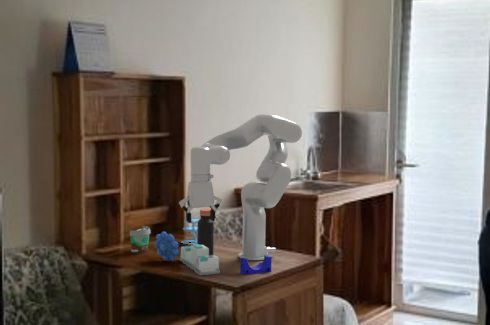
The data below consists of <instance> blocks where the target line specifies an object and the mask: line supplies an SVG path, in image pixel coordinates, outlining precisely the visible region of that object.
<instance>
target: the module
mask: <svg viewBox="0 0 490 325" xmlns="http://www.w3.org/2000/svg"><path fill="white" fill-rule="evenodd" d="M197 256H209V248H207V247H206V246H204V245H199V244H194V245H193V246H191V264H193V265H194V266H196V257H197Z"/></svg>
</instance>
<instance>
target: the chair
mask: <svg viewBox="0 0 490 325" xmlns="http://www.w3.org/2000/svg"><path fill="white" fill-rule="evenodd" d="M199 220H200V218H199V219H198V218H192V217H191V223H190V224H192V226H188V224H189V223H188V222H187V221H186V219H184V220H183V222H184V225H185V226H184V227H183V228H182V230H184V231H189V232H191V234H192V236H193V238H194V239H192V240H191V239H190V240H189V239H188V240H181V241H180V242H181V243H183V244H182V245H186V244H188V245H187V246H190V245H194V244H197V235H196V233H198V226H196V225H195V224H197V223H198V221H199ZM187 223H188V224H187ZM195 232H196V233H195ZM188 242H191V243H188Z"/></svg>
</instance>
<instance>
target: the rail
mask: <svg viewBox="0 0 490 325" xmlns="http://www.w3.org/2000/svg"><path fill="white" fill-rule="evenodd" d="M179 261H180V262H181V261H182V262H183V264H184V265H185V264H186V265H185V266H186V267H188V268H189V267H190V270H192V271H193V270H194V272H195V273H196V274H198V275H199V276H204V275H205V276H206V275H216V274H220V266H219V265H220V257H219V256H217V255H215V254H213V255H211V256H197V257H196V266H194V265H193V264H191V246H190V245H186V246H181V247H180V257H179ZM182 262H181V263H182Z"/></svg>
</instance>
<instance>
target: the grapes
mask: <svg viewBox="0 0 490 325" xmlns="http://www.w3.org/2000/svg"><path fill="white" fill-rule="evenodd" d="M155 238H156V240H155V241H154V243H153V245H154V247H155V248H156V254H157V256H160V257H161V258H162V259H163V261H165V262H168V261H169V260H170V261H171V262H174V261H176V257H178V256H179V255H180V251H179V250H178V248H179V243H178V241H176V240H175V236H174V235H173V234H171V233H169V234H168V232H166V231H161V233H157V234H156V236H155Z"/></svg>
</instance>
